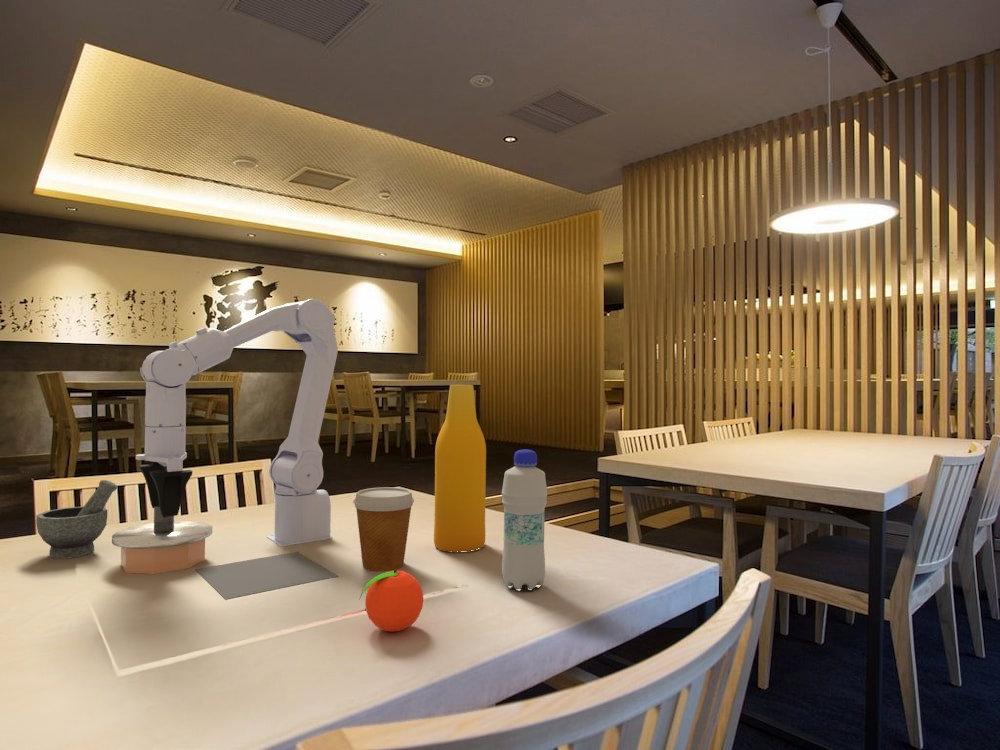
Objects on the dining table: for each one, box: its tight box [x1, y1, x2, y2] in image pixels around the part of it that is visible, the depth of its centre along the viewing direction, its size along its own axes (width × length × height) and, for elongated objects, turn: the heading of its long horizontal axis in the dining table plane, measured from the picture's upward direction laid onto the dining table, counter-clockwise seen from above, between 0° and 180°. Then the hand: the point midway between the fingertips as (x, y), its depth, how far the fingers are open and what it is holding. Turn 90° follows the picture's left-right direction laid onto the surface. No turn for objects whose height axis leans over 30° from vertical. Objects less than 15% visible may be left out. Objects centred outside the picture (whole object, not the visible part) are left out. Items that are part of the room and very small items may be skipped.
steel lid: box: [111, 505, 213, 549], centre depth 98 cm, size 14×14×5 cm
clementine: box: [358, 569, 425, 632], centre depth 74 cm, size 8×7×7 cm
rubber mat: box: [194, 551, 339, 601], centre depth 93 cm, size 16×16×1 cm
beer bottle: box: [433, 384, 487, 553], centre depth 111 cm, size 9×9×29 cm
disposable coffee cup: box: [352, 486, 415, 572], centre depth 98 cm, size 10×10×12 cm
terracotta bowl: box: [120, 538, 206, 575], centre depth 98 cm, size 11×11×4 cm
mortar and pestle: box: [35, 479, 118, 559], centre depth 104 cm, size 11×9×12 cm
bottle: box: [501, 449, 548, 590], centre depth 90 cm, size 7×7×20 cm
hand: (164, 511), depth 98 cm, fingers open, 7 cm apart
